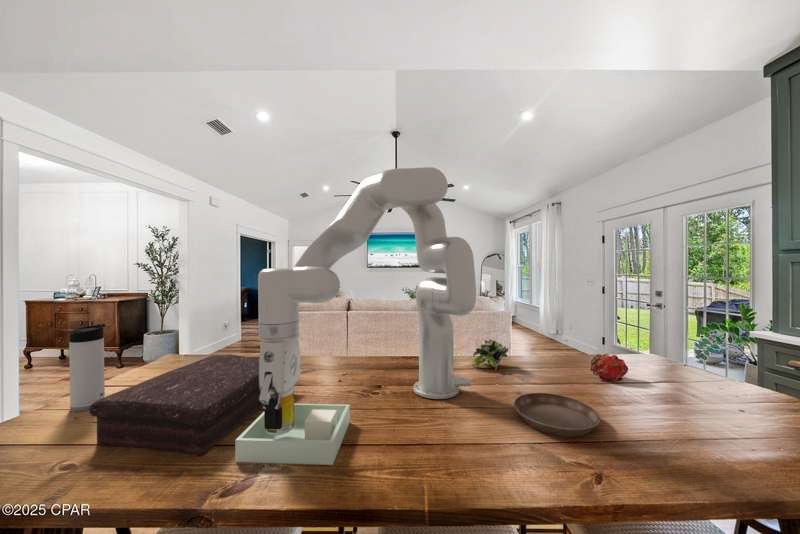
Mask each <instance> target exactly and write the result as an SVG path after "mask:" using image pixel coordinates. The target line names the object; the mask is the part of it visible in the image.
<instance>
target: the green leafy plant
mask: <svg viewBox="0 0 800 534" xmlns="http://www.w3.org/2000/svg"><path fill="white" fill-rule="evenodd" d="M508 352H509V347H507V346H505V345H504V346H503V344H502V343H499V342H498V341H496V340H495V339H494V340H493V339H488V340H487V339H485V340H484V343H480V344H479V347H475V351H473V354H472V357H475V359H474V360H473V361H472V367H473V368H475V367H476V366H477V367H479V366H483V365H484V364H485V363H487V362H488V364H489V365H491V366H492V367H494V368H495V369H494V372H496V370H497V368H498V366H499V364H500V362H501V359H503V357H505V358H506V357H508V354H507V353H508ZM476 356H477V357H476Z"/></svg>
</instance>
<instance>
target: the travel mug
mask: <svg viewBox="0 0 800 534" xmlns="http://www.w3.org/2000/svg"><path fill="white" fill-rule="evenodd" d="M105 327H106V324H104V323H98V324H97V325H96V324H94V325H93V324H92V325H88V326H81V327H79V328H75V329H72V330H70V331H69V335H68V337H69V339H68V340H69V341H68V344H69V345H68V355H69V357H68V358H69V403H70V404H69V405H70V407H69V408H70V411H71V412H75V413H80V412H85V411H86V412H87V411H89V408H90V406H91V404H93V403H94V402H96V401H97V400H99V399H101V398H104V397H106V396H105V395H106V394H105V392H106V391H105V388H106V387H105V341H104V339H105V337H104V328H105Z"/></svg>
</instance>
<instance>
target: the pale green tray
mask: <svg viewBox="0 0 800 534" xmlns="http://www.w3.org/2000/svg"><path fill="white" fill-rule="evenodd" d="M313 409H314V410H337V426H336V428H335V430H334V432H333V434H332V436H331V439H330V440H305V420H306V418H307V417H308V415H309V414H310V413H311V411H312V410H313ZM350 410H351V405H350V404H347V403H346V404H340V403H338V404H335V403H299V402H297V403H295V402H294V427H293V429H292V430H291V431H289V432H288V433H285V434H282V435H270V434H268V433H266V431H265V426H264V411H263V412H262V413H261V414H260V415H259V416H257V418H256V419H255V420H254V421H253V422H251V424H250V425H249V426H248V427H247V428H246V429H244V430H243V432H242V433H241V434H240V435H239V436H238V437H237V438H236V439H235V442H234V443H235V448H234V449H235V453H234V454H235V455H234V456H235V463H253V464H254V463H255V464H257V463H258V464H287V465H288V464H289V465H290V464H293V465H294V464H295V465H326V466H327V465H329V466H333V465H334V463H335V460H336V458H337V456H338V453H339V449H340V448H341V446H342V442H343V440H344V438H345V435H346V433H347V430H348V427H349V425H350V423H351V415H350V414H351V411H350Z"/></svg>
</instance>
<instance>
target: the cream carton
mask: <svg viewBox="0 0 800 534" xmlns="http://www.w3.org/2000/svg"><path fill="white" fill-rule="evenodd" d="M336 426H337V410H314V409H313V410H312V411H311V413H310V414H309V415H308V417H307V418H306V420H305V440H330V439H331V436H332V434H333V432H334V430H335V428H336Z"/></svg>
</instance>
